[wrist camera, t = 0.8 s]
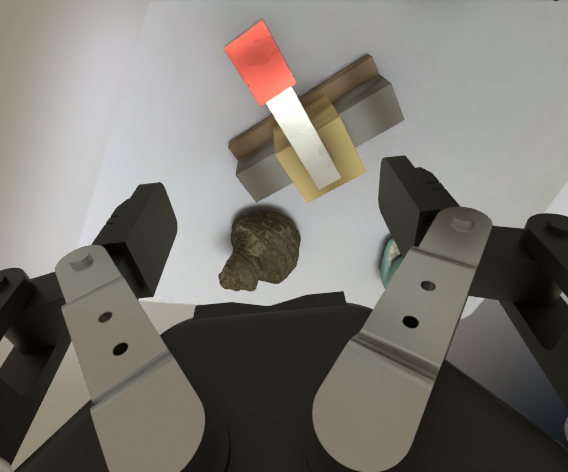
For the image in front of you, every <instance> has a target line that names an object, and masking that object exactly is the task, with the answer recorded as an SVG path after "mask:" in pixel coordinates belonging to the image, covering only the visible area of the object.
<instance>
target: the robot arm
mask: <svg viewBox="0 0 568 472" xmlns="http://www.w3.org/2000/svg"><path fill="white" fill-rule="evenodd" d="M378 202H379V209H380V212H381V214H382V216H383V218H384V221H385V223H386V225H387V227H388V229H389V231H390V233H391V235H392V237H393V239H394V241H395V244H396V246H397V248H398V250H399V252H400V254H401V256H402V258H403V261H402V263H401V264H400V266H399V268H398V269H397V271H396V273H395V274H394V276H393V278H392V279H391V281H390V283H389V284H388V286H387V288H386V289H385V291H384V293H383V294H382V296H381V298H380V299H379V301H378V302H377V304H376V306H375V307H374V309H371V308H368V307H365V306H362V305H358V304H353V303H346V300H345V296H344V292H343V291H342V292H331V293H321V294H311V295H305V296H301V297H298V298H295V299H292V300H288V301H285V302H282V303H279V304H275V305H272V306H261V305H252V304H243V303H234V302H229V303H218V304H208V305H198V306H196V308H195V312H194V317H193V318H190V319H187V320H185V321H183V322H181V323H178V324H176V325H174V326H173V327H171V328H170V329H168V330H167V331H165V332H163V333H162V334H161V335H159V334H158V332H157V331H156V329H155V327H154V326H153V324H152V323H151V321H150V319H149V318H148V316H147V314H146V313H145V311H144V310H143V308H142V307H141V305H140V303H139V301H138V299H139V298H147V297H153V296H154V294H155V291H156V288H157V285H158V283H159V280H160V277H161V275H162V272H163V269H164V267H165V264H166V261H167V258H168V256H169V253H170V250H171V248H172V245H173V242H174V240H175V237H176V234H177V220H176V217H175V214H174V211H173V209H172V206H171V203H170V200H169V198H168V195H167V192H166V190H165V187H164V186H163V184H162V183H160V182H158V183H149V184H141V185H139V186H138V187H137V188H136V190H135V192H134V193H133V195H132V196H131V198H130V199H127V200H126V201H124V202H123V203H122V204H121V205H119V206H118V207H117V208H116V209H115V211H114V212H113V214H112V215H111V218H109V219H108V221H107V222H106V225H104V227H103V228H102V230H101V231H100V233H99V234H98V236H97V237H96V239H95V240H94V242H93V243H92V245H89V246H84V247H81V248H79V249H76V250H74V251H72V252H70V253H69V254H67V255H66V256H64V257H63V258H62V259H61V260H60V261H59V262H58V264H57V265H56V267H55V272H53V273H49V274H46V275H43V276H40V277H36V278H33V279H30V278H29V277H28V276H27V274H26V273H25V272H24V271H23V270H22V269H20V268H9V269H4V270H1V271H0V341H1V339H2V338H3V336H5V337H6V338H7V339H8V340H9V341H10V342H11V343H12V344H14V347H13V349H12V351H11V352H10V354H9V355H8V357H7V358H6V360H5V361H4V363H3V365H2V366H1V368H0V472H12V469H11V464H12V462H13V460H14V458H15V456H16V454H17V452H18V450H19V448H20V446H21V444H22V442H23V440H24V438H25V435H26V434H27V431H28V429H29V427H30V425H31V423H32V421H33V419H34V417H35V415H36V413H37V411H38V409H39V407H40V405H41V403H42V401H43V399H44V396H45V395H46V393H47V390H48V388H49V386H50V384H51V382H52V380H53V378H54V376H55V374H56V372H57V370H58V368H59V366H60V363H61V362H62V360H63V358H64V355H65V353H66V351H67V349H68V347H69V345H70V343H71V341H72V342H73V345H74V348H75V351H76V354H77V357H78V360H79V363H80V366H81V369H82V372H83V375H84V378H85V381H86V384H87V387H88V390H89V393H90V396H91V400H90V401H88V402H87V403H86V404H85V405H84V406H83V407H82V408H81V409H80V410H79V411H78V412H77V413H76V414H75V415H73V416H72V417H71V418H70V419H69V420H68V421H67V422H66V423H65V424H64V425H63V426H62V427H61V428H60V429H58V430H57V431H56V432H55V433H54V434H53V435H52V436H51V437H50V438H49V439H48V440H47V441H46V442H45V443H44V444H42V446H40V447H39V448H38V449H37V450H36V451H35V452H34V453H33V454H32V455H31V456H30V457H29V458H27V459H26V460H25V461H24V463H22V464H21V465H20V466H19V467H18V468H17V469H16V470H15V471H14V472H568V450H567V449H566V448H565V447H564V446H563V445H562V444H561V443H559V442H558V441H557V440H556V439H554V438H553V437H552V436H550V435H549V434H548V433H546V432H545V431H544V430H542V429H541V428H539V427H538V426H537V425H535V424H534V423H533V422H531V421H530V420H528V419H527V418H526V417H524V416H523V415H522V414H520V413H519V412H518V411H516V410H515V409H513V408H512V407H511V406H509V405H508V404H506V403H505V402H504V401H502V400H501V399H500V398H498V397H497V396H496V395H494V394H493V393H491V392H490V391H489V390H487V389H486V388H484V387H483V386H482V385H480V384H479V383H478V382H476V381H475V380H474V379H472V378H471V377H469V376H468V375H467V374H465V373H464V372H463V371H461V370H460V369H458V368H457V367H456V366H454V365H453V364H452V363H450V362H449V361H447V360H446V357H447V354H448V352H449V348H450V346H451V343H452V340H453V337H454V335H455V331H456V329H457V326H458V323H459V321H460V318H461V315H462V312H463V310H464V307H465V304H466V301H467V299H468V296H474V297H481V298H488V299H495V300H499V302H500V304H501V305H502V307H503V308H504V310H505V312H506V313H507V315H508V316H509V318H510V319H511V321H512V323H513V324H514V326H515V327H516V329H517V331H518V332H519V334H520V335H521V337H522V339H523V340H524V342H525V343H526V345H527V347H528V348H529V350H530V351H531V353H532V354H533V356H534V358H535V359H536V361H537V362H538V364H539V365H540V367H541V369H542V370H543V372H544V373H545V375H546V377H547V378H548V380H549V381H550V383H551V385H552V386H553V388H554V389H555V391H556V393H557V394H558V396H559V397H560V399H561V400H562V402H563V404H564V405H565V407H566V408H567V410H568V305H567V303H566V302H565V301H564V300H563V299H562V297H561V296H560V294H561V293H562V291H563V293H564V294H565V295H566V296H567V297H568V217H567V216H563V215H559V214H547V213H544V214H537V215H534V216H531V217H530V218H529V219H528V220H527V223H526V225H525V227H524V229H521V228H510V227H499V226H492V221H491V219H490V218H489V217H488V216H487V215H485V214H484V213H482V212H480V211H478V210H475V209H471V208H467V207H460V206H459V204H458V203H457V202H456V201H455V200H454V198H453V197H452V196H451V195H450V194H449V193H448V191H447V190H446V189H444V187H443V185H442V184H441V183H439V181H438V180H437V178H436V177H435V176H434V175H433V174H432V173H431V172H429V171H427V170H425V169H423V168H421V167H418V168H415V167H414V166H413V165H412V164H411V162H410V161H409V160H408V158H407V157H406V156H405V155H403V156H394V157H385V158H383V159H382V161H381V169H380V182H379V195H378ZM565 434H566V437H567V440H568V418H567V420H566V423H565Z"/></svg>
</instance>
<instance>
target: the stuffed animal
mask: <svg viewBox="0 0 568 472" xmlns="http://www.w3.org/2000/svg"><path fill="white" fill-rule="evenodd" d="M400 255H401V254H400V252H399V250H398V248H397V246H396V244H395V241H394V239H393V238H392V239H390V240H389V241H388V243H387V245H386V247H385V252H384V257H383V260H382V264H381V276H382V283H383V286H384V288H385V289H386V288H387V286H388V284H389V283H390V281H391V279H392V278H393V276H394V274H395V273H396V271H397V269H398V268H399V266H400V264H401V263H402V261H403V258H402V256H400Z"/></svg>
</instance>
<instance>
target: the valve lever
mask: <svg viewBox="0 0 568 472" xmlns="http://www.w3.org/2000/svg"><path fill="white" fill-rule="evenodd" d="M224 50H225V51H226V53H227V55H228V56H229V58H230V59H231V61H232V62H233V64H234V66H235V67H236V69H237V70H238V72H239V74H240V75H241V77H242V78H243V80H244V82H245V83H246V85H247V86H248V88H249V90H250V91H251V93H252V94H253V96H254V98H255V99H256V101H257V102H258V104H259V106H262V105H263V104H265V103H266V104H267V106H268V108H269V109H270V111H271V112H272V114H273V116H274V117H275V119H276V121H277V122H278V124H279V126H280V127H281V129H282V130H283V132H284V134H285V135H286V137H287V139H288V140H289V142H290V143H291V145H292V147H293V148H294V150H295V152H296V153H297V155H298V156H299V158H300V160H301V161H302V163H303V165H304V166H305V168H306V170H307V171H308V173H309V174H310V176H311V178H312V179H313V181H314V183H315V184H316V186H317V187H318V189H319V190H320V189H322V188H324V187H325V186H327V185H329V184H331V183H333V182H335V181H337V180H338V179H340V178H341V176H340V173H339V171H338V169H337V167H336V166H335V164H334V162H333V160H332V158H331V156H330V155H329V153H328V151H327V149H326V147H325V145H324V144H323V142H322V140H321V138H320V136H319V134H318V133H317V131H316V129H315V127H314V125H313V124H312V122H311V120H310V118H309V116H308V114H307V113H306V111H305V109H304V107H303V105H302V103H301V102H300V100H299V98H298V96H297V94H296V93H295V91H294V89H293V87H292V86H293V85H294V84H296V81H295V78H294V76H293V74H292V72H291V70H290V69H289V67H288V65H287V63H286V61H285V59H284V57H283V56H282V54H281V52H280V50H279V48H278V46H277V44H276V42H275V41H274V39H273V37H272V35H271V33H270V31H269V29H268V28H267V26H266V24H265V22H264V20H263V18H262V19H261V20H259V21H258V22H256V23H255V24H254V25H252V26H251V27H250V28H248V29H247V30H246V31H244V32H243V33H241V34H240V35H239V36H237V37H236V38H235V39H233V40H232V41H231V42H229V43H228V44H226V46H225V48H224Z"/></svg>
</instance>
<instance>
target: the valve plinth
mask: <svg viewBox="0 0 568 472" xmlns="http://www.w3.org/2000/svg"><path fill="white" fill-rule="evenodd" d="M299 100H300V102H301V103H302V105H303V107H304V109H305V111H306V113H307V114H308V116H309V118H310V120H311V122H312V124H313V125H314V127H315V129H316V131H317V133H318V134H319V136H320V138H321V140H322V142H323V144H324V145H325V147H326V149H327V151H328V153H329V155H330V156H331V158H332V160H333V162H334V164H335V166H336V167H337V169H338V171H339V173H340V176H341V178H340V179H338V180H337V181H335V182H333V183H331V184H329V185H327V186H325V187H324V188H322V189H320V190H319V189H318V187H317V186H316V184H315V183H314V181H313V179H312V178H311V176H310V174H309V173H308V171H307V170H306V168H305V166H304V165H303V163H302V161H301V160H300V158H299V156H298V155H297V153H296V152H295V150H294V148H293V147H292V145H291V143H290V142H289V140H288V139H287V137H286V135H285V134H284V132H283V130H282V129H281V127H280V126H279V124H278V122H277V121H276V119H275V117H274V116H273V114H272V115H271V116H269V117H268V118H266V119H265V120H263V121H261V122H260V123H258V124H257V125H255V126H254V127H252V128H250V129H249V130H247V131H246V132H244V133H243V134H241V135H239V136H238V137H236V138H235V139H233V140H232V141H230V142H229V146H228V148H229V149H230V150H231V152H232V153H233V155H234V156H235V157H236V159H237V160H238V163H237V171H236V177H237V178H238V179H239V181H240V182H241V183H242V185H243V186H244V187H245V188H246V190H247V191H248V192H249V194H250V195H251V196H252V198H253V199H254V200H255V201H256V203H257V202H258V201H260V200H262V199H264V198H266V197H267V196H269V195H271V194H273V193H275V192H276V191H278V190H280V189H282V188H283V187H285V186H287V185H289V184H291V183H292V182H293V183H294V184H295V186H296V188H297V189H298V191H299V192H300V194H301V195H302V197H303V198H304V200H305V201H306V203H308V202H310V201H312V200H314V199H316V198H318V197H320V196H321V195H323V194H325V193H327V192H329V191H331V190H333V189H335V188H337V187H338V186H340V185H342V184H344V183H346V182H348V181H350V180H352V179H353V178H355V177H357V176H359V175H361V174H363V173H365V172H366V170H365V168H364V165H363V163H362V161H361V159H360V157H359V155H358V153H357V151H356V149H355V147H357V146H359V145H361V144H362V143H364V142H366V141H368V140H369V139H371V138H373V137H375V136H377V135H378V134H380V133H382V132H384V131H386V130H387V129H389V128H391V127H393V126H395V125H396V124H398V123H400V122H402V121H403V120H404V117H403V114H402V112H401V109H400V106H399V103H398V101H397V98H396V95H395V93H394V90H393V87H392V85H391V83H390V82H389V81H387V80H386V79H385V78H383V77H382V76H381V75H379V73H378V71H377V68H376V65H375V63H374V60H373V58H372V56H370V55H369V54H367V55H365V56H364V57H362V58H361V59H359V60H358V61H356V62H354V63H353V64H351V65H350V66H348V67H347V68H345V69H343V70H342V71H340V72H339V73H337V74H336V75H334V76H332V77H331V78H329V79H328V80H326V81H324V82H323V83H321V84H320V85H318V86H317V87H315V88H313V89H312V90H310V91H309V92H307V93H306V94H304V95H302V96H301V97H299Z"/></svg>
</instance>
